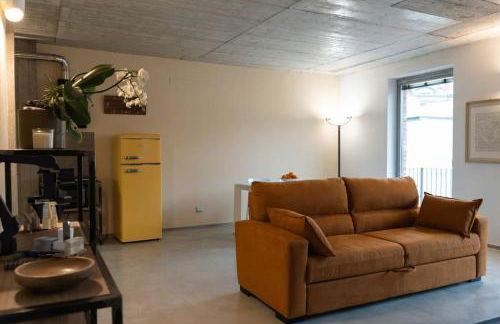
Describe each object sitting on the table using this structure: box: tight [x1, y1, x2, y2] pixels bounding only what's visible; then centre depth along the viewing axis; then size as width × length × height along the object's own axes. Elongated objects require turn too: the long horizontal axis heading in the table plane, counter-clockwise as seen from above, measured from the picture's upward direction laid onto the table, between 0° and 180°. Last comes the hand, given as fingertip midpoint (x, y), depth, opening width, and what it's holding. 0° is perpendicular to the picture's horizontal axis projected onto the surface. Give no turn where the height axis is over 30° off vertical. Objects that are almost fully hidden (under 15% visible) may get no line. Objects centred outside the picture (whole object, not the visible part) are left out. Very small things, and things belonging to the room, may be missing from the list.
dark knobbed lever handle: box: [51, 220, 71, 250], centre depth 170 cm, size 15×3×11 cm, turn 75°
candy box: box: [41, 202, 59, 230], centre depth 229 cm, size 9×4×15 cm, turn 175°
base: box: [30, 236, 88, 256], centre depth 170 cm, size 21×12×6 cm, turn 75°
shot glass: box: [57, 226, 75, 241], centre depth 190 cm, size 7×7×7 cm
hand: (50, 219), depth 178 cm, fingers open, 9 cm apart
